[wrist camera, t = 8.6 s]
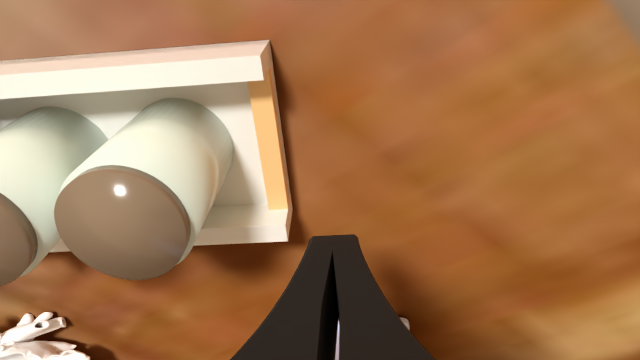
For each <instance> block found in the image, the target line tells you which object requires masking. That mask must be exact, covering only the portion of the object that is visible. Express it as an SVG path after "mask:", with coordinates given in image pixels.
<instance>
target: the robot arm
mask: <svg viewBox="0 0 640 360" xmlns="http://www.w3.org/2000/svg"><path fill="white" fill-rule="evenodd" d="M338 318H339V320H338ZM409 329H410V326H409V321H408V320H407V319H406V318H399V317H398V315H397V314H396V312H395V311H394V310H393V308H392V307H391V305H390V304H389V302H388V301H387V299H386V297H385V296H384V294H383V293H382V291H381V289H380V288H379V286H378V284H377V282H376V281H375V279H374V277H373V275H372V273H371V271H370V269H369V267H368V265H367V263H366V261H365V259H364V256H363V254H362V251H361V248H360V245H359V241H358V237H357V236H355V235H354V234H353V235H332V236H313V237H312V238H311V239H310V240H309V243H308V246H307V249H306V251H305V253H304V256H303V258H302V260H301V262H300V264H299V266H298V268H297V270H296V271H295V273H294V275H293V277H292V279H291V281H290V282H289V284H288V286H287V287H286V289H285V291H284V292H283V294H282V295H281V297H280V298H279V300H278V302H277V303H276V305H275V306H274V308H273V309H272V310H271V312H270V313H269V315H268V316H267V317H266V319H265V320H264V321H263V323H262V324H261V325H260V326H259V328H258V329H257V330H256V331H255V333H254V334H253V335H252V336H251V337H250V338H249V339H248V341H247V342H246V343H245V344H244V345H243V346H242V347H241V349H240V350H239V351H238V352H237V353H236V354H235V355H234V356H233V357H232V358H231V359H230V360H435V358H434V357H433V356H432V355H431V354H430V353H429V352H428V351H427V350H426V349H425V348H424V347H423V346H422V345H421V344H420V343H419V341H418V340H417V339H416V338H415V337H414V335H413V334H412V333H411V332H410V331H409Z"/></svg>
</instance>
